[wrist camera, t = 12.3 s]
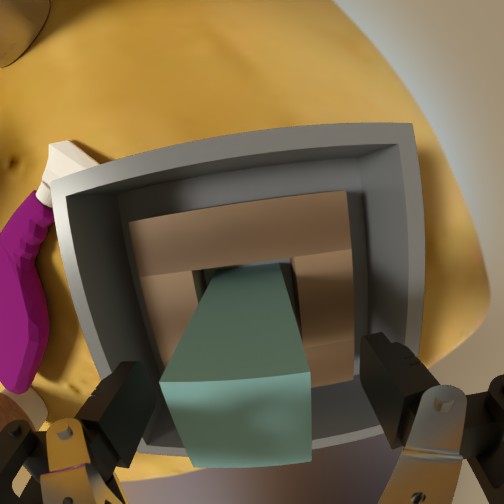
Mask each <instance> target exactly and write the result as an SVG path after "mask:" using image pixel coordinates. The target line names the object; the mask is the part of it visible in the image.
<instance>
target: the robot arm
mask: <svg viewBox="0 0 504 504" xmlns="http://www.w3.org/2000/svg"><path fill="white" fill-rule="evenodd" d="M49 9H50V3H49V1H48V0H0V68H3V67H5V66H7V65H9V64H11V63H12V62H13V61H15V60H16V59H17V58H18V57H19V56H20V55H21V54H22V53H23V52H24V51H25V50H26V49H27V48H28V46H29V45H30V44H31V43H32V41H33V40H34V39H35V37H36V36H37V35H38V33H39V31H40V30H41V28H42V26H43V25H44V23H45V21H46V18H47V16H48V13H49ZM359 373H360V381H361V385H362V387H363V390H364V392H365V394H366V396H367V398H368V400H369V402H370V404H371V406H372V408H373V410H374V412H375V414H376V416H377V418H378V420H379V423H380V425H381V427H382V429H383V431H384V433H385V435H386V437H387V440H388V442H389V444H390V445H391V448H392V449H395V448H398V447H401V446H404V449H403V451H402V453H401V455H400V458H399V460H398V463H397V465H396V467H395V470H394V472H393V474H392V476H391V478H390V481H389V483H388V485H387V487H386V489H385V491H384V493H383V495H382V497H381V499H380V501H379V502H378V504H451V503H452V500H453V497H454V493H455V490H456V486H457V482H458V479H459V474H460V470H461V466H462V460H463V459H467V461H468V463H469V465H470V466H471V468H472V470H473V472H474V474H475V476H476V478H477V480H478V481H479V484H480V486H481V488H482V489H483V492H484V494H485V495H486V498H487V500H488V502H489V504H504V375H500V376H497V377H496V378H494V379H493V380H492V382H491V383H490V386H489V389H488V391H487V392H482V393H476V394H471V395H465V394H464V392H463V391H462V390H460V389H459V388H456V387H454V386H451V385H440V384H439V382H438V381H437V380H436V379H435V378H434V376H433V375H432V374H431V373H430V372H429V371H428V369H427V368H426V367H425V366H424V365H423V364H422V363H421V361H420V360H419V359H418V358H417V357H415V354H414V353H413V352H412V351H411V350H410V349H409V348H408V347H407V346H405V345H403V344H401V343H399V342H393V343H391V342H390V341H389V339H388V338H387V337H386V336H385V335H384V333H383V332H378V333H374V334H369V335H365V336H362V337H361V340H360V370H359ZM155 404H156V398H155V393H154V391H153V388H152V386H151V383H150V381H149V378H148V376H147V373H146V370H145V368H144V365H143V364H142V362H140V361H122V362H120V364H119V365H118V366H117V368H116V369H115V370H114V372H113V373H111V374H110V375H108V376H107V377H106V378H104V379H103V380H102V381H101V382H100V383H99V385H98V386H97V387H96V390H94V391H93V393H92V394H91V397H89V398H88V399H87V401H86V402H85V403H84V405H83V406H82V408H81V409H80V410H79V412H78V413H77V414H76V416H75V417H74V418H63V419H60V420H58V421H56V422H54V423H53V424H52V425H51V426H50V427H49V428H48V430H47V431H34V430H33V429H32V427H31V426H30V424H29V423H28V422H27V421H26V420H23V419H18V420H14V421H12V422H10V423H8V424H7V425H6V426H5V427H4V428H3V429H2V431H1V432H0V504H129V502H128V500H127V498H126V496H125V493H124V491H123V489H122V487H121V484H120V482H119V479H118V477H117V475H116V474H115V472H114V470H115V467H116V466H117V467H123V468H129V467H130V464H131V462H132V460H133V457H134V455H135V452H136V450H137V448H138V445H139V443H140V441H141V438H142V436H143V434H144V431H145V429H146V427H147V425H148V422H149V420H150V418H151V415H152V413H153V411H154V409H155ZM22 465H23V466H24V467H25V468H26V469H27V471H28V472H29V473H30V474H31V475H32V476H31V478H30V480H29V482H28V483H27V485H26V487H25V488H24V490H23V492H22V494H21V496H20V498H19V497H18V496H17V495H16V494H15V493H14V491H13V489H12V481H13V479H14V478H15V476H16V475H17V473H18V471H19V470H20V468H21V466H22Z"/></svg>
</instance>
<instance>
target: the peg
mask: <svg viewBox="0 0 504 504" xmlns="http://www.w3.org/2000/svg"><path fill="white" fill-rule="evenodd" d="M159 384H160V387H161V389H162V392H163V395H164V398H165V400H166V403H167V406H168V408H169V411H170V414H171V416H172V419H173V421H174V424H175V426H176V429H177V431H178V433H179V436H180V438H181V440H182V443H183V445H184V447H185V449H186V452H187V454H188V456H189V458H190V460H191V463H192V465H193V467H202V468H242V467H262V466H275V465H285V464H294V463H302V462H309V461H312V457H311V456H312V418H311V376H310V369H309V365H308V362H307V358H306V354H305V351H304V347H303V344H302V340H301V337H300V333H299V330H298V326H297V323H296V319H295V316H294V313H293V309H292V306H291V302H290V299H289V296H288V292H287V289H286V285H285V282H284V279H283V275H282V272H281V269H280V265H279V263H271V264H263V265H254V266H246V267H237V268H228V269H220V270H216V272H215V274H214V276H213V278H212V280H211V281H210V283H209V285H208V287H207V289H206V291H205V293H204V295H203V297H202V298H201V300H200V302H199V304H198V306H197V308H196V310H195V312H194V314H193V316H192V318H191V320H190V322H189V323H188V325H187V327H186V329H185V331H184V333H183V335H182V337H181V339H180V341H179V343H178V345H177V347H176V349H175V351H174V353H173V355H172V357H171V359H170V361H169V363H168V365H167V367H166V369H165V371H164V373H163V375H162V377H161V379H160V381H159Z"/></svg>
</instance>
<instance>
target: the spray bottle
mask: <svg viewBox="0 0 504 504" xmlns="http://www.w3.org/2000/svg"><path fill="white" fill-rule="evenodd" d="M97 165H100V164H99V163H98V162H97V161H96V160H94V159H93V158H92V157H90V156H89V155H88V154H87V153H85V152H84V151H83V150H82V149H80V148H79V147H78V146H76V145H75V144H74V143H72V142H71V141H68V140H66V141H61V142H56V143H51V144H49V158H48V161H47V166H46V169H45V171H44V174H43V177H42V180H43V181H42V182H41V184H40V186H39V188H38V190H37V191H35V190H34V191H33V192H32V193H31V194H30V195H29V196H28V197H27V198H26V200H25V201H24V202H23V203H22V204H21V205H20V207H19V208H18V209H17V210H16V211H15V212H14V214H13V215H12V217H11V218H10V220H9V221H8V223H7V224H6V226H5V227H4V229H3V230H2V232H1V233H0V382H1V383H2V384H3V386H4V387H5V388H6V389H7V390H8V391H9V392H12V393H15V394H18V395H19V394H22V393H25V392H26V391H28V389H29V387H30V386H31V384H32V382H33V380H34V377H35V375H36V373H37V370H38V368H39V366H40V364H41V361H42V358H43V355H44V352H45V349H46V346H47V342H48V339H49V329H50V323H49V316H48V309H47V301H46V298H45V295H44V291H43V288H42V284H41V281H40V279H39V276H38V273H37V270H36V267H35V257H36V256H37V254H38V252H39V250H40V244H41V243H42V241H43V240H44V239H45V238H46V236H47V231H48V226H49V225H51V224H52V223H54V222H55V219H54V212H53V205H52V197H51V188H50V182H51V181H53V180H56V179H59V178H61V177H64V176H67V175H70V174H73V173H76V172H79V171H82V170H85V169H88V168H91V167H94V166H97Z"/></svg>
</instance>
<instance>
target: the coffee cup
mask: <svg viewBox="0 0 504 504" xmlns="http://www.w3.org/2000/svg"><path fill="white" fill-rule="evenodd" d="M47 417H48V410H47V407H46V405H45V403H44V402H43V400H42V399H41V397H40V396H39V395H38V394H37V392H36V391H35V390H34V389H33V388H31V387H29V389H28V391H26V392H25V393H22V394H19V395H18V394H15V393H12V392H9V391H8V390H7V389H4V390H3V391H2V392H0V432H1V431H2V429H3V428H4V427H5V426H6V425H7V424H8V423H10V422H12V421H14V420H18V419H23V420H26V421H27V422H28V423H29V424H30V426H31V427H32V429H33V430H34V431H38V430H39V429H40V427H41V426H42V424H43V423H44V421H45V420H46V418H47Z"/></svg>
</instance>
